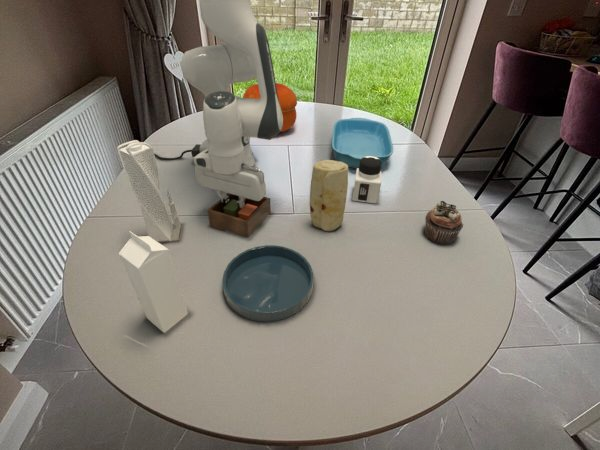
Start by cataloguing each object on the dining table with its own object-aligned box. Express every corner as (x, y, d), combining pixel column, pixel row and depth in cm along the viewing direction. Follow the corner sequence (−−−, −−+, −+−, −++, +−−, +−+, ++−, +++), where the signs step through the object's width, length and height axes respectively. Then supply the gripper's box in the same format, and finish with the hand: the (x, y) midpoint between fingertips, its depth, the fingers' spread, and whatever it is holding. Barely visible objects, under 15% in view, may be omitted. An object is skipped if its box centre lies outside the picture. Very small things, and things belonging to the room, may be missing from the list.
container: (376, 204, 104) (384, 167, 95) (352, 200, 105) (357, 164, 97) (377, 191, 110) (384, 155, 101) (353, 188, 111) (359, 152, 102)
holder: (210, 226, 93) (207, 210, 90) (234, 203, 102) (232, 187, 99) (248, 239, 89) (247, 222, 86) (271, 213, 98) (270, 198, 95)
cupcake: (457, 249, 88) (470, 219, 81) (419, 241, 90) (429, 211, 84) (457, 228, 95) (469, 199, 89) (422, 220, 97) (431, 192, 91)
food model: (341, 218, 97) (348, 156, 85) (344, 233, 92) (353, 169, 80) (308, 218, 97) (310, 156, 85) (309, 233, 92) (312, 169, 79)
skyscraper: (177, 244, 87) (149, 145, 70) (145, 247, 86) (108, 147, 68) (181, 224, 94) (156, 129, 76) (151, 227, 92) (118, 131, 75)
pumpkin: (307, 126, 150) (308, 80, 138) (278, 144, 135) (277, 94, 123) (266, 116, 160) (264, 71, 147) (235, 131, 145) (229, 83, 132)
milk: (171, 301, 73) (144, 221, 59) (189, 315, 70) (165, 234, 56) (146, 319, 69) (111, 239, 55) (164, 335, 66) (132, 254, 53)
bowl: (206, 302, 73) (203, 292, 70) (253, 246, 87) (252, 236, 85) (289, 337, 66) (289, 327, 64) (325, 270, 81) (326, 260, 79)
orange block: (239, 223, 94) (237, 212, 91) (248, 214, 97) (247, 203, 94) (250, 227, 92) (249, 215, 90) (258, 217, 96) (257, 206, 93)
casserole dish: (393, 177, 116) (397, 159, 112) (329, 173, 118) (330, 154, 114) (383, 134, 145) (386, 118, 141) (332, 131, 147) (334, 115, 142)
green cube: (224, 219, 95) (223, 207, 93) (234, 210, 98) (232, 199, 96) (235, 222, 94) (233, 211, 91) (244, 213, 97) (243, 202, 95)
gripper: (269, 163, 84) (271, 207, 93) (202, 147, 90) (210, 190, 99) (257, 174, 80) (260, 220, 88) (187, 157, 86) (196, 201, 94)
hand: (233, 204), depth 94 cm, fingers open, 4 cm apart
